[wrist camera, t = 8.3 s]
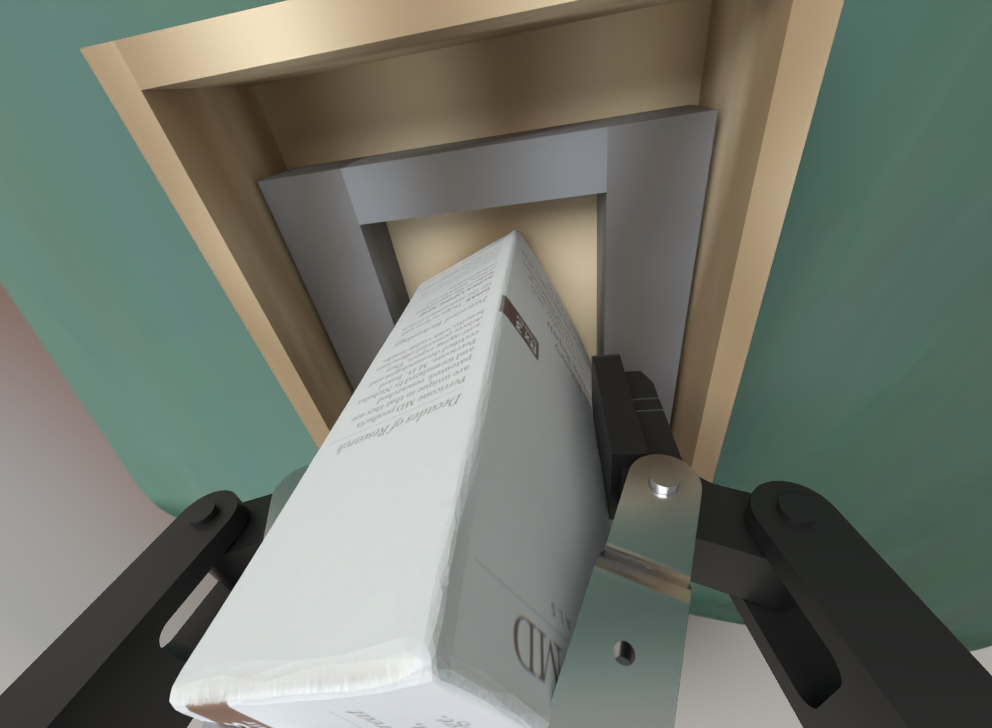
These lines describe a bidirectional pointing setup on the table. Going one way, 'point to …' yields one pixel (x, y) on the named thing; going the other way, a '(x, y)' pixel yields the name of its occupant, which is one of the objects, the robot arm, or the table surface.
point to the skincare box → (427, 528)
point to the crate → (486, 170)
